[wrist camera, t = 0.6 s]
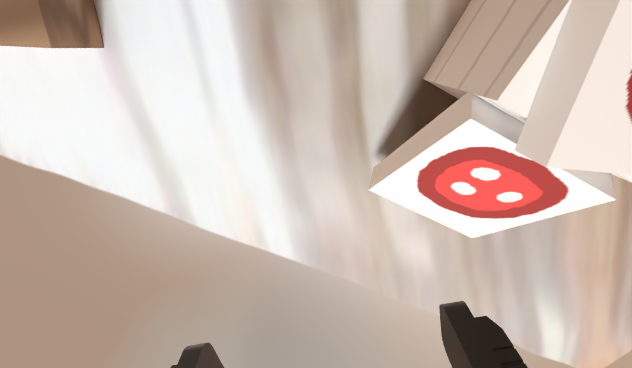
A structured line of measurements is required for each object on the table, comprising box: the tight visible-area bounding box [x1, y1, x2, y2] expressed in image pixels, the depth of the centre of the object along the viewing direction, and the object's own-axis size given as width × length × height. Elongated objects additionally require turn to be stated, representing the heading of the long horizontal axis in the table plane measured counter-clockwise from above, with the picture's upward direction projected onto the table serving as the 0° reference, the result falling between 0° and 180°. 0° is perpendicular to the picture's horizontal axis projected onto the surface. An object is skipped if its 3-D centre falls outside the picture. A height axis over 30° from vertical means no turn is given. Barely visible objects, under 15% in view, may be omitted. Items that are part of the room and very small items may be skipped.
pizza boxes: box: [369, 0, 632, 238], centre depth 26 cm, size 19×30×18 cm, turn 153°
